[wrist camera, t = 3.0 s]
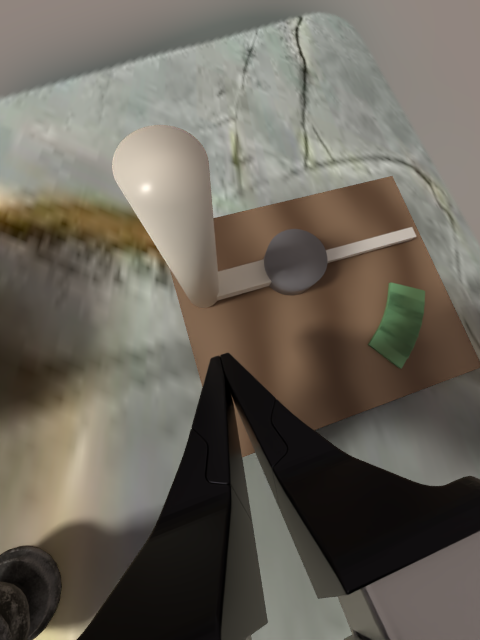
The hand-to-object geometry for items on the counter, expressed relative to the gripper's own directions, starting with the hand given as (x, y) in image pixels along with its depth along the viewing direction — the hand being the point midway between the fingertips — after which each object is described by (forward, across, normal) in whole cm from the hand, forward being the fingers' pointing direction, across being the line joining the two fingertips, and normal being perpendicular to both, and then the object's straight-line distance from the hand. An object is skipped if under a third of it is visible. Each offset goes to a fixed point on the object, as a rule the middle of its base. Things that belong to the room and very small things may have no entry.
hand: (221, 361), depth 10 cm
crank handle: (+8, -8, +1) cm, 12 cm away
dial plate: (+7, -9, +4) cm, 12 cm away
